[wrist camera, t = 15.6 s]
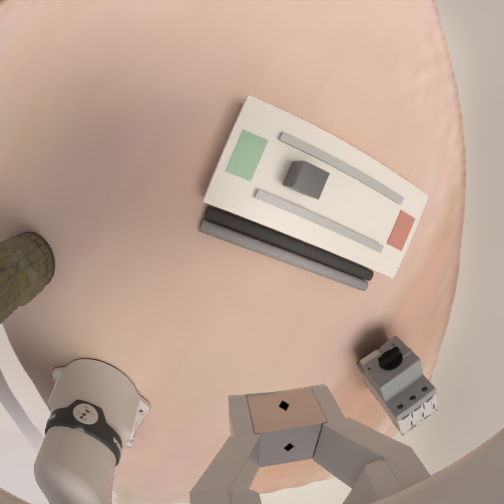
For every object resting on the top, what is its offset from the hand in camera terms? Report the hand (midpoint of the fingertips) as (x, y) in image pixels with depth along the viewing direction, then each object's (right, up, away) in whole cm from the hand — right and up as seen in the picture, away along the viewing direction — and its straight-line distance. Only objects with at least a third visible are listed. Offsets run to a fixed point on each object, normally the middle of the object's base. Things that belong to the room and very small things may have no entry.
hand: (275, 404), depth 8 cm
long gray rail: (+5, +5, +32) cm, 33 cm away
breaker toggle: (+5, +13, +24) cm, 28 cm away
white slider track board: (+8, +13, +30) cm, 34 cm away
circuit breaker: (+22, -14, +41) cm, 49 cm away
